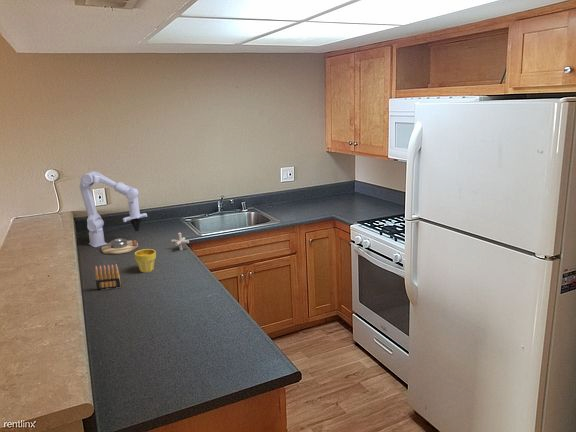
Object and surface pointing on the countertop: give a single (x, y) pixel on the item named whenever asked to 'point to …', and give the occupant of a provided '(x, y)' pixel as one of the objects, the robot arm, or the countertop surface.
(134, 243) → the beige round shallow disc
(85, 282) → the countertop surface
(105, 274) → the ammunition clip
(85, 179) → the robot arm
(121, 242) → the cover
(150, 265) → the plant pot
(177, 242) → the pipe connector
